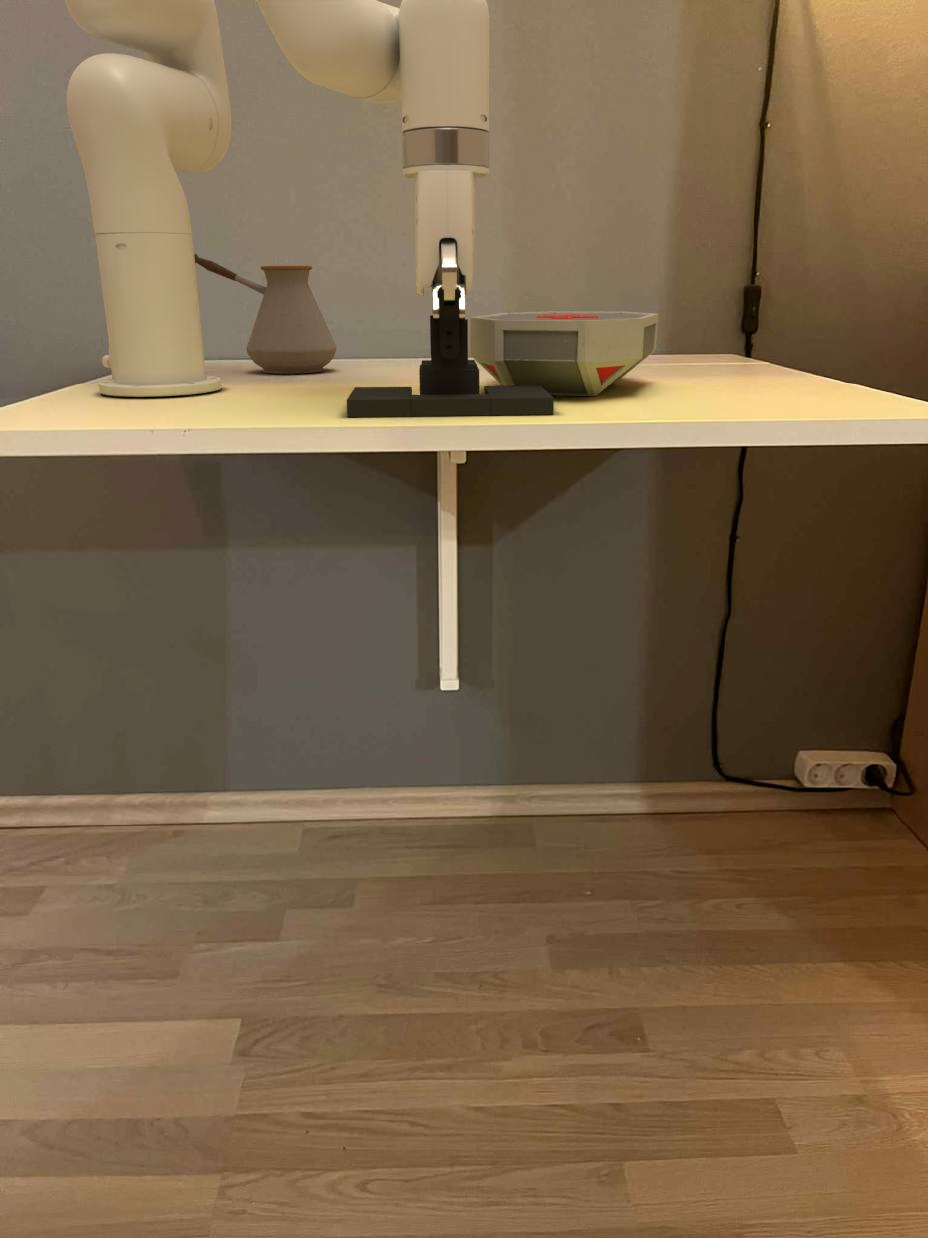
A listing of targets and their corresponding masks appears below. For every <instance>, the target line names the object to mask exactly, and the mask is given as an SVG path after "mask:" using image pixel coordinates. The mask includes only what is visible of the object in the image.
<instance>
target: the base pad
mask: <svg viewBox="0 0 928 1238" xmlns="http://www.w3.org/2000/svg"><path fill="white" fill-rule="evenodd" d="M483 389H484V390H483V393H479V394H435V395H420V394H413V386H355V387H353V390H352V391H351V393H350V394H349V395H348V397H347V398H346V417H347V418H394V417H395V418H396V417H397V418H399V417H468V416H469V417H471V416H472V417H477V416H479V417H480V416H483V417H484V416H485V417H486V416H541V415H542V416H545V415H546V416H549V415H550V416H551V415H552V416H553V415H554V407H555V406H554V403H555V398H554V397H555V396H553V395H550V394H549V393H548V392H547V391H546V390H545V389H544V388H543V387H542V386H541V385H509V386H502V385H484V388H483Z"/></svg>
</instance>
